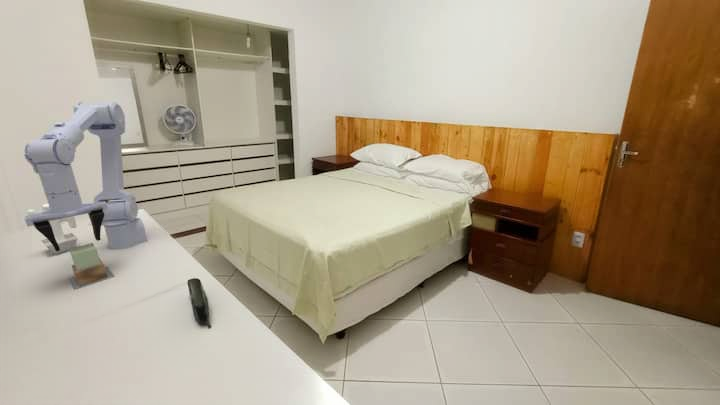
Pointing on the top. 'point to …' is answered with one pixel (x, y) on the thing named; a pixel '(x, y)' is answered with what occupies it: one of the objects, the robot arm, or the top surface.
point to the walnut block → (90, 274)
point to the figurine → (59, 232)
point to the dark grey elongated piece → (199, 301)
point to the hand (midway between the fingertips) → (78, 244)
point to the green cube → (85, 256)
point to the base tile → (76, 285)
